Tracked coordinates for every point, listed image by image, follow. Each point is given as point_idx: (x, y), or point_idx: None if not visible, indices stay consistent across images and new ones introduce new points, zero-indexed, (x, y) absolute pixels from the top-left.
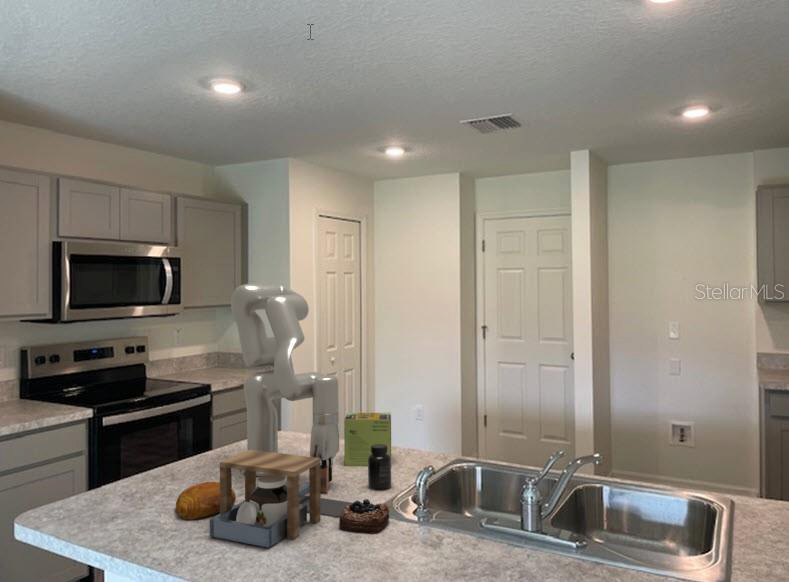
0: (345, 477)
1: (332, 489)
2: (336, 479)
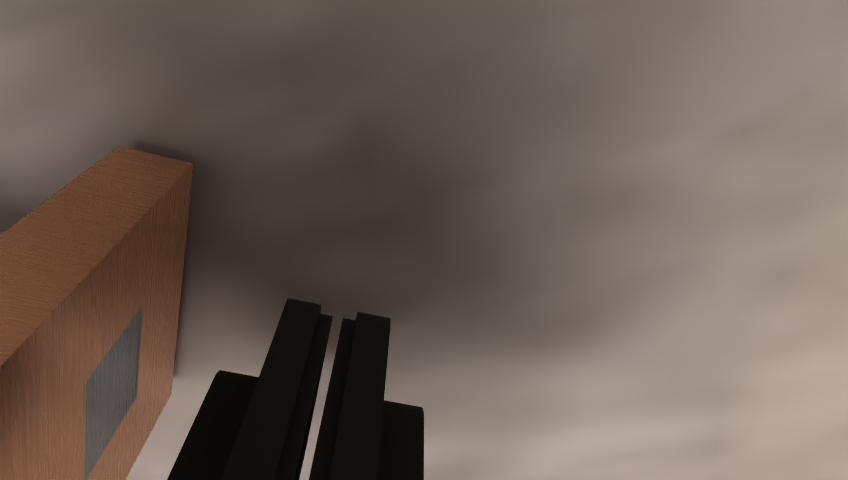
0: (836, 441)
1: None
2: (756, 355)
